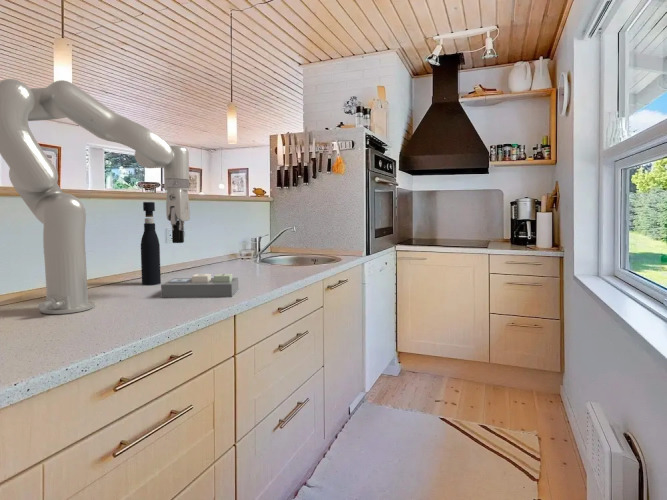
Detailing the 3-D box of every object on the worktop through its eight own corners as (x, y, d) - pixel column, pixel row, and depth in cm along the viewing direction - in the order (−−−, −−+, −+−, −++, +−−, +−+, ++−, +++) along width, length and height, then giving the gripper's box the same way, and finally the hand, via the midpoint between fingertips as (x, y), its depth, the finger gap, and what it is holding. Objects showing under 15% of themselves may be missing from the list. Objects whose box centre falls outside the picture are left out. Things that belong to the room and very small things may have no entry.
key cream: (207, 285, 136) (207, 275, 136) (191, 285, 136) (191, 276, 136) (211, 282, 141) (211, 273, 141) (196, 282, 141) (195, 273, 141)
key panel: (231, 296, 133) (231, 284, 133) (161, 297, 132) (161, 284, 131) (238, 289, 146) (238, 277, 146) (174, 289, 145) (174, 278, 144)
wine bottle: (163, 283, 156) (161, 202, 154) (146, 285, 152) (143, 201, 149) (156, 281, 161) (153, 202, 158) (139, 283, 156) (136, 202, 154)
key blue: (185, 290, 136) (185, 281, 136) (169, 290, 136) (169, 281, 135) (190, 287, 141) (189, 278, 141) (174, 287, 141) (174, 278, 140)
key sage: (229, 285, 137) (229, 275, 136) (214, 285, 136) (213, 275, 136) (232, 282, 142) (232, 273, 141) (217, 282, 141) (217, 273, 141)
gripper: (182, 184, 128) (183, 244, 130) (195, 187, 143) (196, 241, 144) (156, 183, 127) (158, 244, 129) (172, 186, 142) (173, 241, 144)
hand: (178, 242), depth 137 cm, fingers closed
